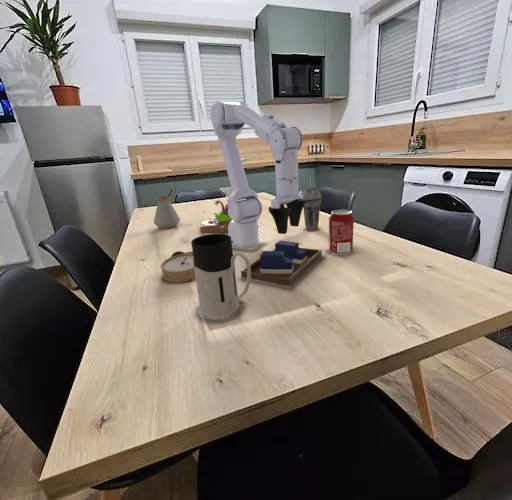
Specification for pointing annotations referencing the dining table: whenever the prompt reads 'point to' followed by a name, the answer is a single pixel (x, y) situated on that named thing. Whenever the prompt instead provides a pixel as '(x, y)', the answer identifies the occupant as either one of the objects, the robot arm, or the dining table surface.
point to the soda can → (341, 231)
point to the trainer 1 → (275, 263)
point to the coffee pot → (166, 213)
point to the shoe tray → (283, 278)
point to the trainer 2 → (291, 251)
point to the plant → (217, 221)
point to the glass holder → (217, 275)
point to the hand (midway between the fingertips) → (288, 229)
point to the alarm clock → (178, 267)
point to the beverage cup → (311, 207)
